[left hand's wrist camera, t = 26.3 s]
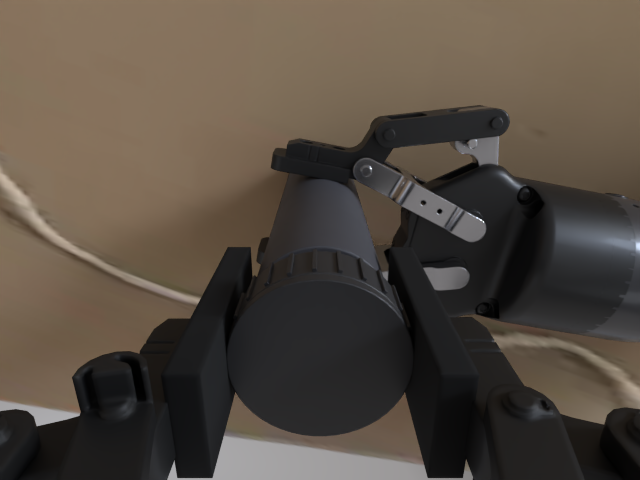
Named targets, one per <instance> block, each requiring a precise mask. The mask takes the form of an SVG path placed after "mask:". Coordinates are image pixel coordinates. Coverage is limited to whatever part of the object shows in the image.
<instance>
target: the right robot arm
mask: <svg viewBox="0 0 640 480" xmlns="http://www.w3.org/2000/svg"><path fill="white" fill-rule="evenodd" d="M509 123H510V119H509V116H508V114H507V113H506V112H505V111H504V110H501V109H496V108H491V107H486V106H481V105H477V106H468V107H459V108H450V109H441V110H432V111H423V112H414V113H406V114H397V115H388V116H380V117H377V118H375V119H374V120H373V121H372V123H371V126H370V129H369V131H368V132H367V134H366V136H365V137H364V139H363V140H362V142H361V143H360V144H358V145H357V146H355V147H351V148H346V147H341V146H336V145H331V144H325V143H319V142H315V141H310V140H305V139H295V140H290V141H289V142H288V144H287V149H283V148H276V149H275V150H274V152H273V156H272V163H271V168H272V169H274V170H277V171H282V172H287V173H293V174H298V175H303V176H309V177H314V178H319V179H325V180H331V181H335V182H341V183H346V184H348V180H349V179H355V180H357V181H359V182H360V183H362V184H364V185H366V186H368V187H370V188H372V189H374V190H376V191H378V192H379V193H381V194H383V195H385V196H387V197H389V198H391V199H392V200H393V201H394V202H396V203H397V204H399V205H401V206H402V208H401V225H400V227H399V229H398V231H397V232H396V234H395V236H394V238H393V241H392V244H391V245H381V246H374V248H375V251H376V255H377V258H378V261H379V264H380V268H381V271H382V274H383V277H384V278H385V279H386V280H387V282H388V267H389V251H390V247H412V248H413V250H414V251H415V253H416V255H417V257H418V259H419V261H420V263H421V265H422V267H423V269H424V270H425V272H426V274H427V276H428V278H429V280H430V282H431V284H432V286H433V287H434V289H435V291H436V293H437V295H438V297H439V299H440V301H441V303H442V304H443V306H444V308H445V310H446V312H447V314H448V316H449V317H459V316H463V315H469V314H476V315H480V316H484V317H487V318H490V319H493V320H497V321H501V322H507V323H513V324H519V325H525V326H531V327H536V328H542V329H548V330H554V331H560V332H566V333H572V334H578V335H584V336H590V337H596V338H601V339H607V340H615V341H623V342H640V201H638V200H632V199H629V198H627V197H624V196H623V195H618V194H611V193H605V194H601V193H596V192H591V191H586V190H581V189H576V188H570V187H565V186H560V185H555V184H550V183H545V182H539V181H534V180H529V179H524V178H519V177H515V176H512V175H511V174H510V173H509V172H508V171H507V170H506V169H505V168H503V167H501V166H499V165H498V149H499V136H500V135H502V134H503V133H504V132H505V131H506V130H507V129H508V126H509ZM443 142H450V145H451V146H452V148H453V149H455V150H457V151H458V152H460V153H462V154H470V155H471V157H472V160H473V162H472V163H470V164H467V165H465V166H463V167H461V168H458V169H456V170H454V171H452V172H449V173H447V174H445V175H443V176H440V177H438V178H436V179H433V180H431V181H429V182H427V181H425V180H423V179H421V178H419V177H417V176H415V175H414V174H412V173H410V172H408V171H406V170H404V169H402V168H400V167H398V166H395V165H393V164H391V163H389V162H387V161H386V158H387V157H388V155H389V154H390V152H391V151H392V149H393V148H397V147H407V146H416V145H425V144H434V143H443ZM268 241H269V237H266V238H262V239H261V242H260V245H259V248H258V254H257V262H258V263H259V264H261V263H262V260H263V257H264V253H265V250H266V247H267V244H268Z"/></svg>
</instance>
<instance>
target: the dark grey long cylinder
mask: <svg viewBox="0 0 640 480" xmlns="http://www.w3.org/2000/svg"><path fill="white" fill-rule="evenodd" d="M313 249H317V251H327V252H335V253H336V252H337V251H341V254H344V255H348V256H351V257H354V258H356V259H359V257H360V258H362V259H363V262H364V263H366V264H368V265H370V266H371V267H372V268H374V269H375V270H376V271H377V270H378V269H379V270H381V268H380V264H379V261H378V258H377V255H376V251H375V248H374V245H373V242H372V239H371V235H370V232H369V229H368V226H367V222H366V219H365V216H364V213H363V210H362V206H361V203H360V200H359V197H358V193H357V190H356V187H355V184H354V180H353V179H349V180H348V184H346V183H341V182H335V181H331V180H325V179H319V178H314V177H309V176H303V175H298V174H293V173H289V176H288V179H287V182H286V186H285V189H284V192H283V195H282V199H281V202H280V205H279V208H278V211H277V215H276V218H275V221H274V224H273V228H272V231H271V234H270V237H269V241H268V244H267V247H266V250H265V253H264V257H263V260H262V263H261V266H260V270H259V273H258V275H259V274H261V273H262V272H263V271H264V270H265V269H267V268H268V266H269V263H271V262H273V264H274V263H276V262H278V261H280V260H282V259H284V258H287V257H289V255H290V254H291V253H294V255H296V254H300V253H305V252H313ZM381 272H382V271H381ZM382 275H383V274H382Z"/></svg>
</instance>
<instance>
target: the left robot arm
mask: <svg viewBox="0 0 640 480" xmlns="http://www.w3.org/2000/svg"><path fill="white" fill-rule="evenodd" d="M251 280H252V263H251V247H228V248H227V250H226V252H225V254H224V256H223V258H222V260H221V261H220V263H219V265H218V267H217V269H216V271H215V273H214V275H213V277H212V279H211V280H210V282H209V284H208V286H207V288H206V290H205V292H204V294H203V296H202V297H201V299H200V301H199V303H198V305H197V307H196V309H195V311H194V313H193V315H192V316H191V318H190V319H167V320H166V321H165V322H163V323H162V324H160V325H159V326H158V327H156V328H155V329H154V330H153V332H152V333H151V335H150V336H149V338H148V339H147V341H146V344H144V346H143V347H142V349H141V350H140V354H138V353H134V352H131V351H122V352H113V353H109V354H105V355H102V356H99V357H97V358H95V359H92V360H90V361H89V362H87V363H86V364H84V365H83V366H82V367H80V368H79V369H78V370H77V372H76V373H75V374H74V376H73V377H72V379H73V383H74V387H75V391H76V395H77V399H78V403H79V407H80V410H81V414H80V416H78V417H74V418H71V419H68V420H63V421H59V422H55V423H50V424H46V425H41V426H36V423H35V420H34V417H33V416H32V415H31V414H30V413H29V412H27V411H23V410H17V409H14V410H6V411H0V480H167V478H168V476H169V473H170V470H171V468H172V465H173V462H174V460H175V466H176V472H177V478H212V477H213V473H214V470H215V466H216V462H217V459H218V455H219V451H220V447H221V444H222V440H223V436H224V432H225V429H226V425H227V421H228V417H229V414H230V410H231V406H232V402H233V398H234V395H235V390H234V388H233V386H232V384H231V381H230V379H229V375H228V370H227V360H226V350H227V344H228V340H229V334H230V331H231V328H232V325H233V322H234V319H233V316H234V313H235V310H236V307H237V305H238V302H239V299H240V296H241V294H242V292H243V293H245V292H246V291H247V289H248V287H249V286H250V283H251ZM388 283H389V284H390V285H391V286H392V285H394V286H395V288H396V291H397V294H398V297H399V300H400V302H401V303H403V305H404V308H405V311H406V314H407V317H408V319H409V322H410V325H411V328H412V330H409V332H410V335H411V338H412V342H413V347H414V363H413V372H412V376H411V380H410V382H409V384H408V387H407V389H406V391H405V394H406V398H407V401H408V405H409V409H410V413H411V416H412V420H413V424H414V428H415V431H416V435H417V439H418V443H419V446H420V450H421V454H422V458H423V462H424V465H425V469H426V473H427V477H428V478H463V474H464V468H465V461H466V459H467V462H468V465H469V467H470V470H471V473H472V475H473V480H640V409H633V408H619V409H614V410H612V411H611V412H610V413H609V414H608V415H607V418H606V421H605V424H604V425H602V424H598V423H594V422H589V421H585V420H580V419H576V418H572V417H569V416H565V415H562V414H560V413H559V411H558V409H557V408H556V406H555V405H554V403H553V402H552V401H551V400H549V399H548V398H547V397H546V396H545V395H543V394H542V393H540V392H538V391H536V390H534V389H532V388H529V387H526V386H524V385H523V383H522V382H521V380H520V379H519V377H518V376H517V374H516V373H515V371H514V370H513V368H512V366H511V365H510V363H509V362H508V360H507V359H506V357H505V356H504V354H503V353H502V352H501V350H500V348H499V347H498V345H497V343H496V342H494V339H493V337H492V336H491V334H490V333H489V331H488V330H487V328H486V327H485V326H483V325H482V324H480V323H479V322H478V321H476V320H475V319H474V318H472V317H449V316H448V314H447V312H446V310H445V308H444V306H443V304H442V303H441V301H440V299H439V297H438V295H437V293H436V291H435V289H434V287H433V286H432V284H431V282H430V280H429V278H428V276H427V274H426V272H425V270H424V269H423V267H422V265H421V263H420V261H419V259H418V257H417V255H416V253H415V251H414V250H413V248H412V247H390V251H389V267H388Z"/></svg>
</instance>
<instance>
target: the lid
mask: <svg viewBox="0 0 640 480" xmlns="http://www.w3.org/2000/svg"><path fill="white" fill-rule="evenodd" d="M233 319H234V322H233V325H232V328H231V331H230V334H229V340H228V344H227V350H226V360H227V370H228V375H229V379H230V381H231V384H232V386H233V388H234V390H235V392H236V393H237V395H238V397H239V398H240V399H241V401H242V402H243V403H244V404H245V406H247V407H248V408H249V409H250V410H251V411H252V412H253V413H254V414H255V415H257V416H258V417H259V418H261V419H262V420H264V421H265V422H267V423H269V424H271V425H273V426H275V427H277V428H280V429H282V430H285V431H288V432H291V433H296V434H301V435H308V436H332V435H339V434H344V433H349V432H352V431H355V430H358V429H361V428H363V427H365V426H368V425H370V424H371V423H373V422H375V421H377V420H378V419H380V418H381V417H382V416H384V415H385V414H387V413H388V412H389V411H390V410H391V409H392V408H393V407H394V406H395V405H396V404H397V402H398V401H399V400H400V399H401V397H402V396H403V394H404V392H405V391H406V389H407V387H408V384H409V382H410V380H411V376H412V372H413V363H414V347H413V342H412V338H411V335H410V332H409V330H412V328H411V325H410V322H409V319H408V317H407V314H406V311H405V308H404V305H403V303H401V302H400V300H399V297H398V294H397V291H396V288H395V286H394V285H392V286H391V285H390V284H389V283H388V282H387V280H386V279H385V278H384V277H383V275H382V272H381V270H379V269H378V270H377V271H376V270H375V269H374V268H372V267H371V266H370V265H368V264H366V263H364V262H363V259H362V258H360V257H359V259H356V258H354V257H351V256H348V255H344V254H341V251H337V252H336V253H335V252H327V251H317V249H313V252H305V253H300V254H296V255H294V253H291V254H290V255H289V257H287V258H284V259H282V260H280V261H278V262H276V263H274V264H273V262H271V263H269V266H268V268H267V269H265V270H264V271H263V272H262V273H261V274H259V275H258V276H257V277H256V276H254V277H253V278H252V280H251V283H250V286H249V287H248V289H247V291H246V292H245V293H243V292H242V294H241V296H240V299H239V302H238V305H237V307H236V310H235V313H234V316H233Z"/></svg>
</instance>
